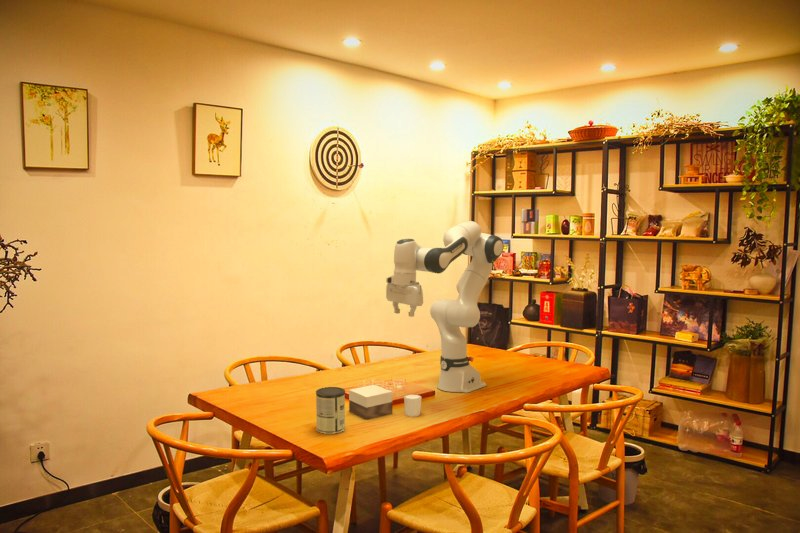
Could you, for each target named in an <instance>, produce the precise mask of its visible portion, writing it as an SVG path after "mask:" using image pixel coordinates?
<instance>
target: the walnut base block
mask: <svg viewBox="0 0 800 533" xmlns="http://www.w3.org/2000/svg"><path fill="white" fill-rule="evenodd" d="M348 400H349V399H348ZM348 402H349V403H348V404H349V405H348V406H349V407H348V409H349V410H348V412H349V413H352V415H353V414H354V415H356V416H357V417H359V418H361V419H363V420H365V421H366V420H368V421H369V420H372V419H376V418H381V417H384V416H389V415H390V416H391V415H393V401H392V402H389V403H385V404H381V405H376V406H372V407H367V408H366V407H364V406H362V405H359V404H357V403H355V402H353V401H350V400H349V401H348Z"/></svg>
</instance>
